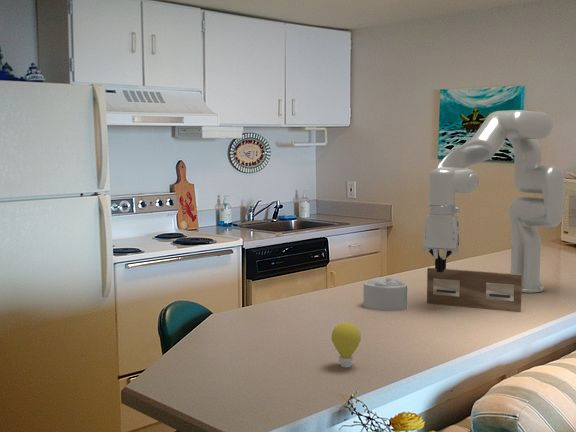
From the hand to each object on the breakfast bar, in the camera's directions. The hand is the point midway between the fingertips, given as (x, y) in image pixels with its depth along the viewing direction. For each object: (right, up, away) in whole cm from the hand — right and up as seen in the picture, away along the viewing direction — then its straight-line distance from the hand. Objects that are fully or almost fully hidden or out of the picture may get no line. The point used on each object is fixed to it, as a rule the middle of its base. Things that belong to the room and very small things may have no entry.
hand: (440, 271), depth 208 cm
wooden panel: (+11, -11, +5) cm, 16 cm away
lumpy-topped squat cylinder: (-15, -12, +6) cm, 20 cm away
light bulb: (-33, -18, -50) cm, 62 cm away
